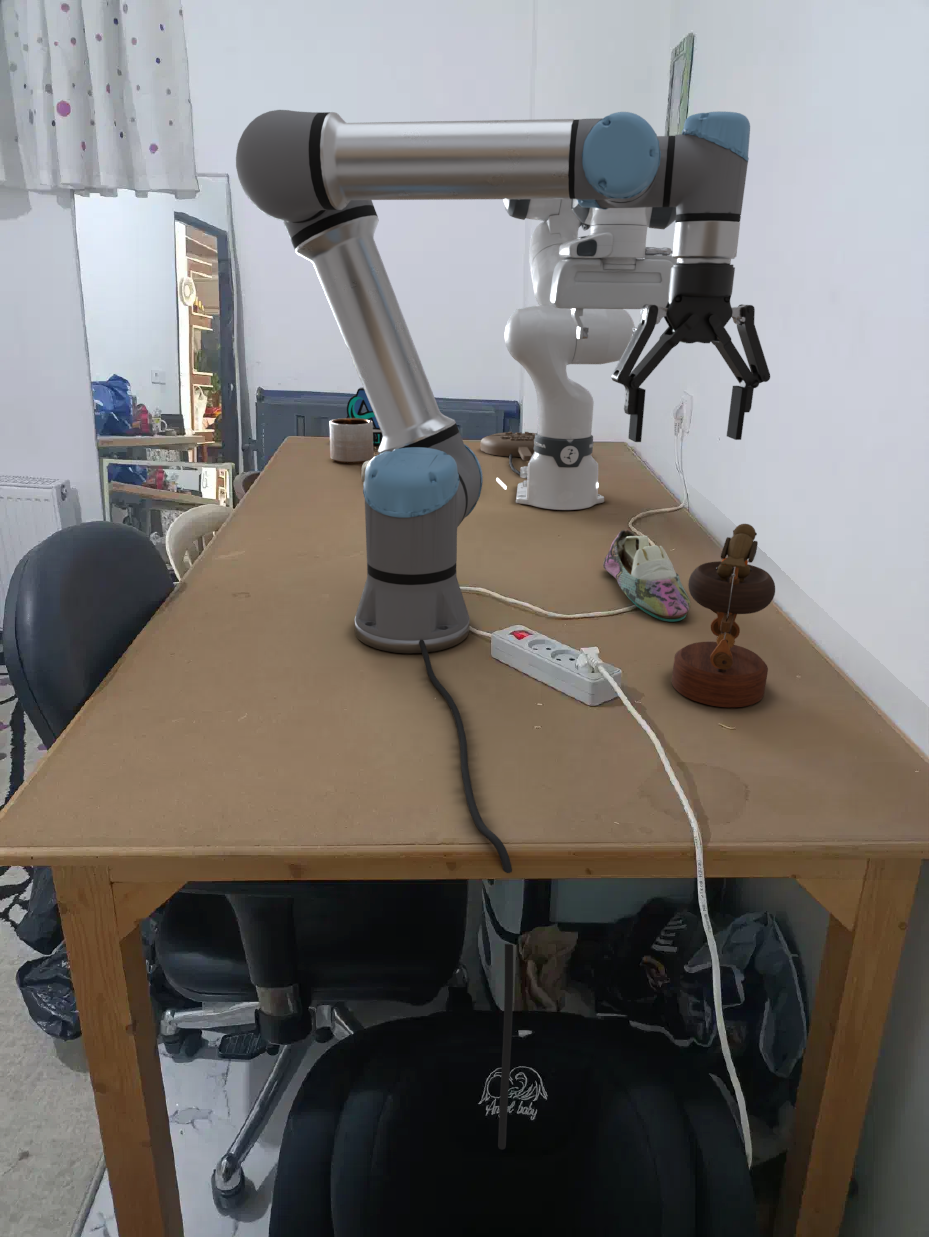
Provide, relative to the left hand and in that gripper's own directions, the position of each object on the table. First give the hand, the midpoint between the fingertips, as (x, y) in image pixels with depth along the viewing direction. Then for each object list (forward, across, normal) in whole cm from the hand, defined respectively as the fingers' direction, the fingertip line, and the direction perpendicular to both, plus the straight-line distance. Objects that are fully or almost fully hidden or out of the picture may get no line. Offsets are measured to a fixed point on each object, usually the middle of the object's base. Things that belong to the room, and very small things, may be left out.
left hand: (684, 439), depth 110 cm
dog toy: (+24, +29, -84) cm, 92 cm away
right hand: (-10, -1, -35) cm, 36 cm away
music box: (+25, +2, +21) cm, 33 cm away
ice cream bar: (+25, -5, -113) cm, 115 cm away
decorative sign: (+24, +36, -132) cm, 139 cm away
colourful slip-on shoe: (+25, 0, -9) cm, 27 cm away
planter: (+24, +40, -111) cm, 120 cm away
